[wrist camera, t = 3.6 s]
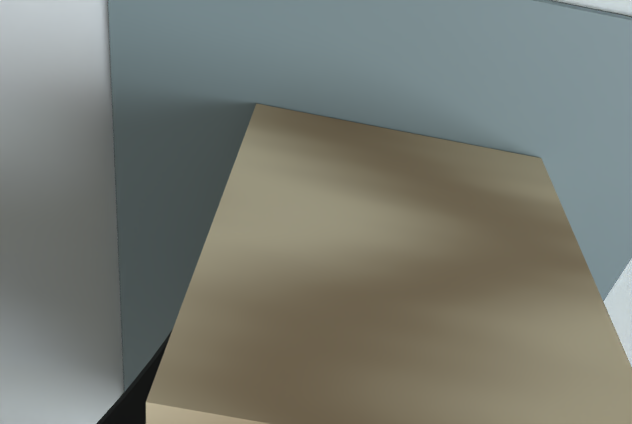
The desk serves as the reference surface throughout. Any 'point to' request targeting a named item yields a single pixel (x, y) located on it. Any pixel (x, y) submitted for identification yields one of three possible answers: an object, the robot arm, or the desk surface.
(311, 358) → the maple block
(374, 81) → the blue-grey flat slab
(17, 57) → the desk surface
